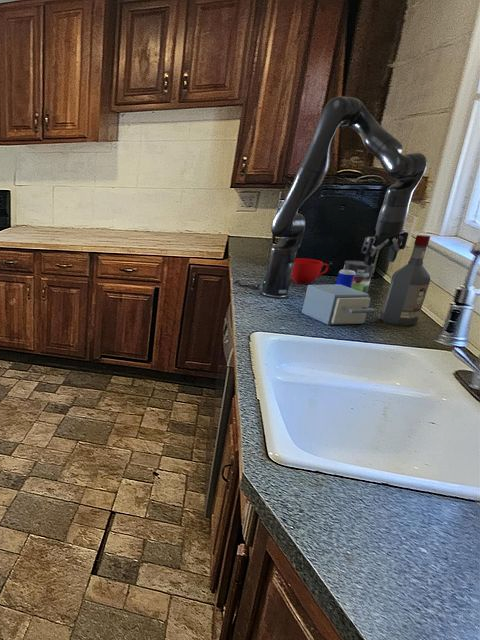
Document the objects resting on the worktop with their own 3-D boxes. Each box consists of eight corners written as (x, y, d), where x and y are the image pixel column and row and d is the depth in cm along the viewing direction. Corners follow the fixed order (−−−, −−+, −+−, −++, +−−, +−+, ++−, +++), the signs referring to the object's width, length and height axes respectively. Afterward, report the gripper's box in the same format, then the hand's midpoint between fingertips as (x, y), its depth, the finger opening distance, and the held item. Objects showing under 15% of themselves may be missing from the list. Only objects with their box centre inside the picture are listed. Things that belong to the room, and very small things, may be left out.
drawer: (374, 327, 177) (382, 302, 174) (343, 328, 176) (349, 302, 173) (337, 311, 194) (343, 288, 191) (308, 312, 193) (313, 289, 190)
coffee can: (368, 301, 212) (377, 266, 207) (338, 298, 216) (347, 264, 210) (362, 295, 221) (371, 261, 216) (334, 292, 225) (342, 259, 219)
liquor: (376, 319, 188) (400, 234, 177) (392, 316, 192) (417, 233, 181) (403, 327, 181) (430, 238, 170) (419, 324, 184) (447, 237, 173)
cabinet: (361, 323, 184) (369, 294, 180) (327, 324, 183) (334, 294, 179) (333, 312, 197) (340, 284, 193) (301, 312, 196) (307, 284, 192)
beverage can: (347, 312, 197) (358, 272, 192) (332, 311, 198) (342, 271, 193) (342, 308, 202) (352, 269, 196) (327, 307, 203) (337, 268, 197)
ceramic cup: (332, 286, 235) (338, 264, 231) (294, 285, 235) (299, 263, 232) (317, 279, 247) (322, 258, 243) (280, 279, 247) (285, 258, 244)
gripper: (402, 211, 178) (389, 256, 187) (363, 217, 177) (352, 262, 186) (421, 217, 172) (406, 263, 181) (380, 223, 171) (368, 270, 180)
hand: (379, 263), depth 183 cm, fingers open, 8 cm apart
